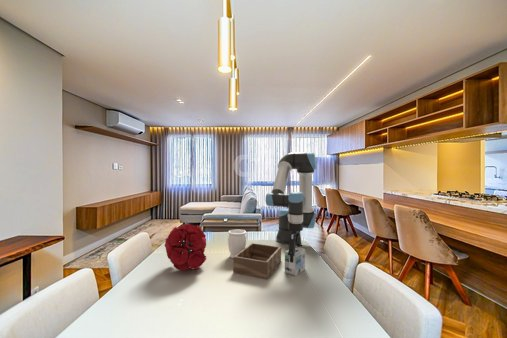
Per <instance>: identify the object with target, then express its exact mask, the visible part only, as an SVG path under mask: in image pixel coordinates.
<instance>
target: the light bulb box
mask: <svg viewBox="0 0 507 338" xmlns="http://www.w3.org/2000/svg"><path fill="white" fill-rule="evenodd" d="M288 251H289V249H287V250H285V251H284V273H285V274H289V275H292V276H295V277H297V276H298V275H299V274H301V273H302V272H303V271H305V269H306V248H302V247H301V248H299V247H296V248H295V269H290V268H289V255H287V254H288Z"/></svg>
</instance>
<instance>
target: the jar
mask: <svg viewBox="0 0 507 338" xmlns="http://www.w3.org/2000/svg"><path fill="white" fill-rule="evenodd" d="M246 234H247V231H246V230H245V229H230V230H228V238H227V244H228V250H229V251H228V252H229V253H230V254H229V258H230V259H233V257H234V256H235V255H236V254H238V253H239V252H240V251H242V250H243V249H245V248H246V247H247V246H246V244H247V236H246Z"/></svg>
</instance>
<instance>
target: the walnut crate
mask: <svg viewBox="0 0 507 338" xmlns="http://www.w3.org/2000/svg"><path fill="white" fill-rule="evenodd" d="M232 259H233V261H232V262H233V265H232V266H233V267H232V268H233V269H232V271H233V272H232V273H233V274H238V275H242V276H243V275H245V276H248V277H253V278H258V279H263V280H268V279H269V278H270V276H271V275H272V274H273V272H274V271H275V270H276V268H277V267H278V266H279V264H280V263H281V262H282V246H275V245H268V244H262V243H254V242H251V243H250V244H248V245H247V246H245V249H243V250H242V251H240V252H239V253H238V254H236V255H235V256H234V257H233V258H232Z"/></svg>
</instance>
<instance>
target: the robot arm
mask: <svg viewBox="0 0 507 338" xmlns="http://www.w3.org/2000/svg"><path fill="white" fill-rule="evenodd" d="M292 170H296V173H297V174H298V177H299V178H298V181H299V182H298V183H299V187H298V188H299V189H298V190H299V191H290V192H289V193H285V192H286V187H287V183H288V180H289V174H290V172H291V171H292ZM316 170H317V160H316V155H315V152H310V151H309V152H308V151H305V152H303V151H300V152H298V151H296V152H293V151H292V152H289V153H287V154H285V155H284V156H282V157H281V159H280V160H279V161H278V164H277V172H276V174H275V175H276V176H275V178H274V179H275V180H274V183H273V186H272V189H271V192H267V193H266V195H265V205H266V206H268V207H273V208H274V207H278V208H281V209H280V210H279V211H278V230H277V233H276V236H275V241H276V242H278V243H281V244H288V250H289V251H288V254H287V255H289V268H290V269H295V248H296V247H299V248H302V247H303V244H302V235H301V232H302V231H303V230H304V229H314V228H315V226H316V217H317V211H315V209H314V207H313V174H314V173H315V171H316Z"/></svg>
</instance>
